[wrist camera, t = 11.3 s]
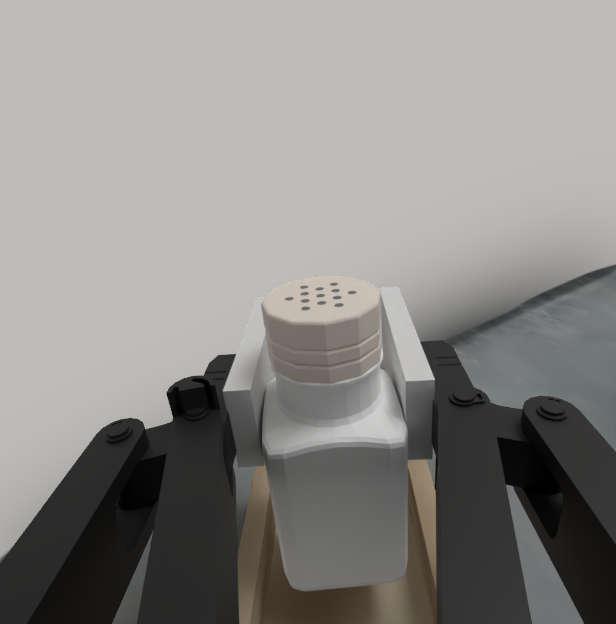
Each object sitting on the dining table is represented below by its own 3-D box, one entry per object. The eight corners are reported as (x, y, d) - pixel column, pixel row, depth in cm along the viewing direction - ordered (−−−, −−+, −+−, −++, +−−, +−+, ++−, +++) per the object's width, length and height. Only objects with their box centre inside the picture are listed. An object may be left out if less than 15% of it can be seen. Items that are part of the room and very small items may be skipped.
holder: (423, 497, 20) (424, 453, 18) (471, 693, 13) (477, 642, 12) (264, 503, 20) (256, 460, 19) (234, 693, 14) (219, 644, 12)
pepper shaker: (286, 602, 14) (237, 338, 10) (287, 500, 17) (252, 277, 13) (412, 590, 14) (414, 321, 10) (387, 490, 17) (381, 264, 13)
